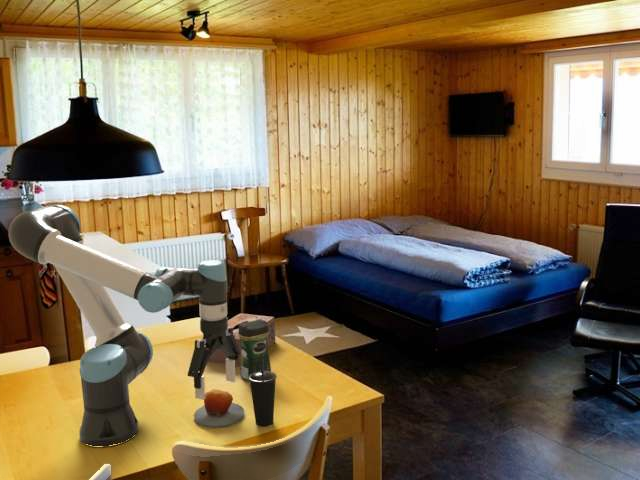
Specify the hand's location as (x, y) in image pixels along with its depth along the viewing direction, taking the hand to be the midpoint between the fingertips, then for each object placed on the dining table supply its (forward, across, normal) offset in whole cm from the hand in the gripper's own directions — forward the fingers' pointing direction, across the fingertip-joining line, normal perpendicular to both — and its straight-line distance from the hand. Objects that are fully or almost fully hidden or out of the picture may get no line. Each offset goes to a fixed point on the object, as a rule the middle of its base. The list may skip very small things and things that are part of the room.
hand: (216, 389), depth 188 cm
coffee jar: (+8, +29, +7) cm, 31 cm away
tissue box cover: (+9, +46, +25) cm, 53 cm away
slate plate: (+8, 0, -1) cm, 8 cm away
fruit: (+7, 0, -1) cm, 7 cm away
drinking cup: (+8, +3, -14) cm, 17 cm away
